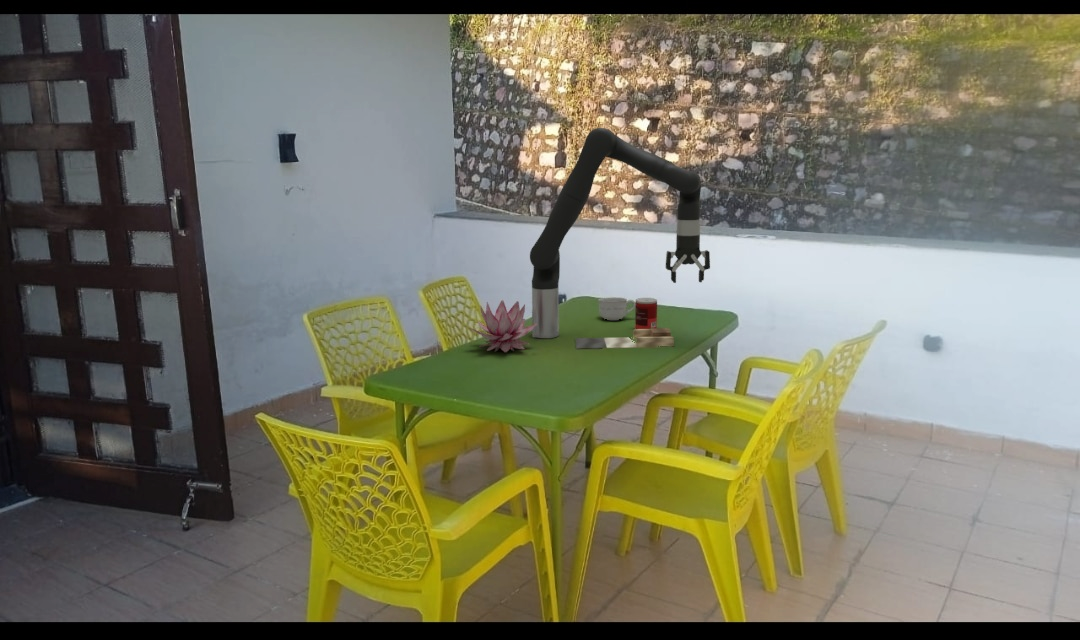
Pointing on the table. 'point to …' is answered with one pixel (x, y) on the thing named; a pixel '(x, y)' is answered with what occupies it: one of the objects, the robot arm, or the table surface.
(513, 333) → the decorative flower
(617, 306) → the teacup
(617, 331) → the table surface
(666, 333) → the walnut block
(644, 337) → the corridor track
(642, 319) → the canned food
